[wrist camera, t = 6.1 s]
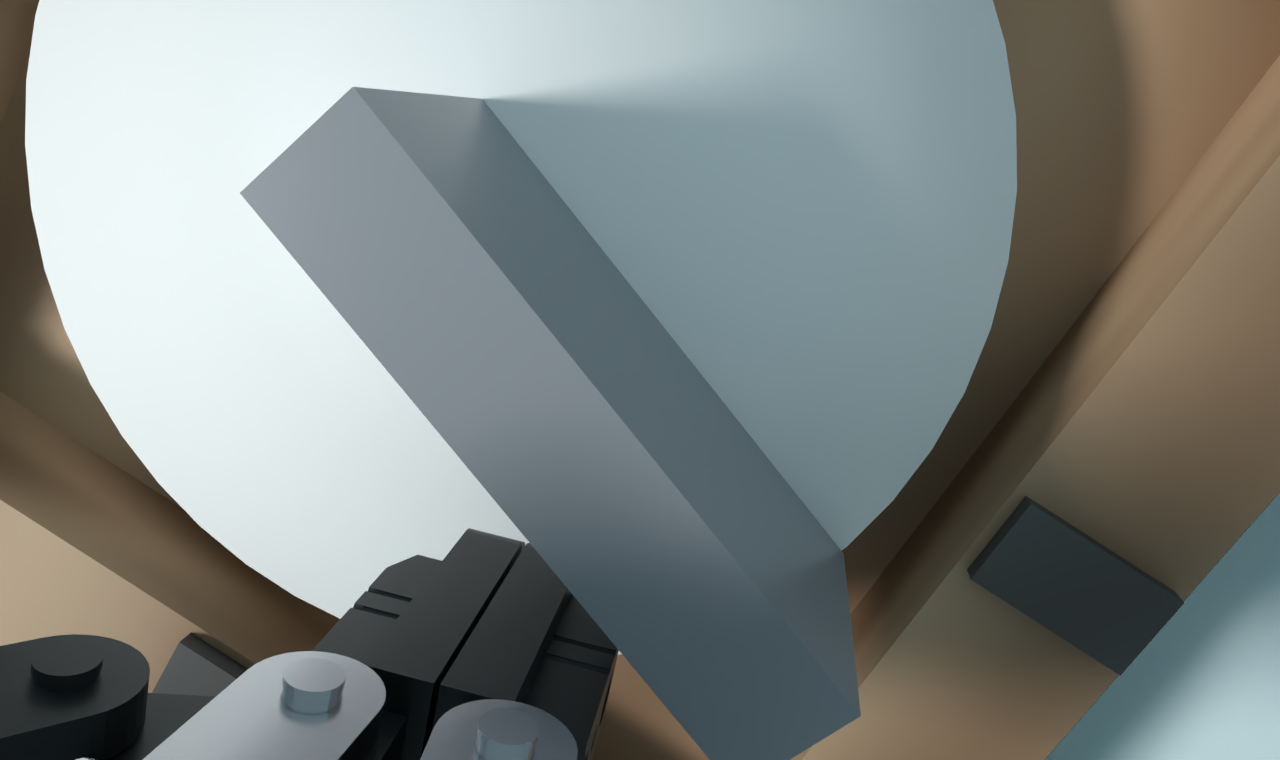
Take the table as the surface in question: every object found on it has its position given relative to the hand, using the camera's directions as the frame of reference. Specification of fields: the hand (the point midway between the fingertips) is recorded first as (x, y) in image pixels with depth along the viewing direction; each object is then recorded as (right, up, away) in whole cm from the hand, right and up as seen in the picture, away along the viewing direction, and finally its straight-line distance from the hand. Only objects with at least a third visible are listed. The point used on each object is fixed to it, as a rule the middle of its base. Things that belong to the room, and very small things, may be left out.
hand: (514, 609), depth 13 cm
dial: (0, +6, +3) cm, 6 cm away
